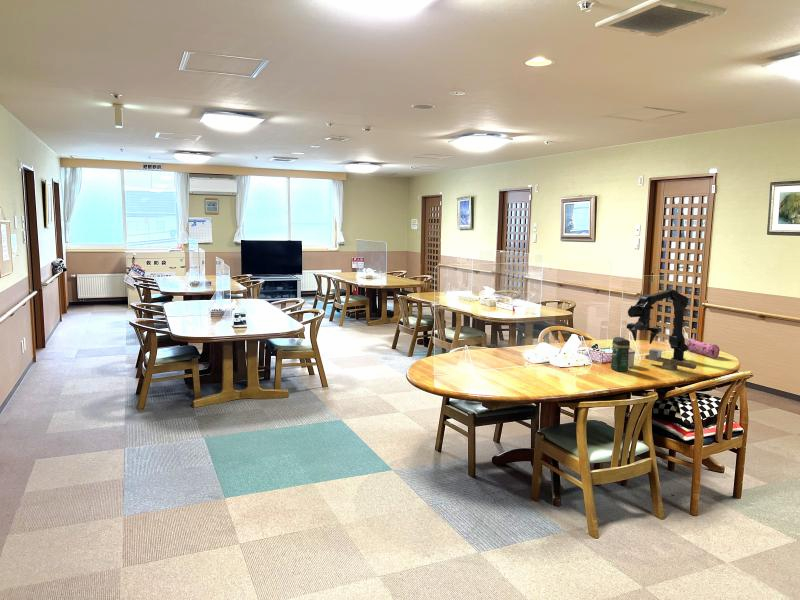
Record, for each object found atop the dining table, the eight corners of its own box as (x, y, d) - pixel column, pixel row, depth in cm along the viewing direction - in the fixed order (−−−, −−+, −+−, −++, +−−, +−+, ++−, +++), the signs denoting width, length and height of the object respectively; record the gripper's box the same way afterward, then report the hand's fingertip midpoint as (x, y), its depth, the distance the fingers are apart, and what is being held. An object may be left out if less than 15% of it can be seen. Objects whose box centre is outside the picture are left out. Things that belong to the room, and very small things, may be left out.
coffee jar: (630, 371, 332) (632, 339, 329) (617, 372, 330) (619, 340, 327) (620, 367, 341) (623, 335, 338) (608, 367, 340) (610, 336, 337)
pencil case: (683, 351, 383) (684, 337, 382) (694, 350, 386) (695, 337, 385) (709, 359, 363) (710, 345, 362) (721, 358, 366) (722, 344, 364)
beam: (648, 362, 353) (649, 354, 352) (696, 372, 332) (697, 364, 331) (643, 364, 348) (644, 355, 348) (692, 374, 328) (693, 365, 327)
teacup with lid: (625, 362, 352) (627, 343, 350) (637, 366, 344) (639, 346, 342) (610, 364, 347) (611, 345, 345) (621, 368, 339) (623, 348, 337)
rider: (652, 357, 350) (653, 348, 349) (661, 359, 346) (661, 350, 345) (648, 359, 346) (649, 349, 345) (656, 361, 343) (657, 351, 342)
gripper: (623, 315, 349) (621, 341, 351) (654, 320, 336) (652, 347, 338) (631, 313, 356) (629, 338, 359) (662, 318, 343) (660, 344, 346)
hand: (642, 342), depth 350 cm, fingers open, 9 cm apart
